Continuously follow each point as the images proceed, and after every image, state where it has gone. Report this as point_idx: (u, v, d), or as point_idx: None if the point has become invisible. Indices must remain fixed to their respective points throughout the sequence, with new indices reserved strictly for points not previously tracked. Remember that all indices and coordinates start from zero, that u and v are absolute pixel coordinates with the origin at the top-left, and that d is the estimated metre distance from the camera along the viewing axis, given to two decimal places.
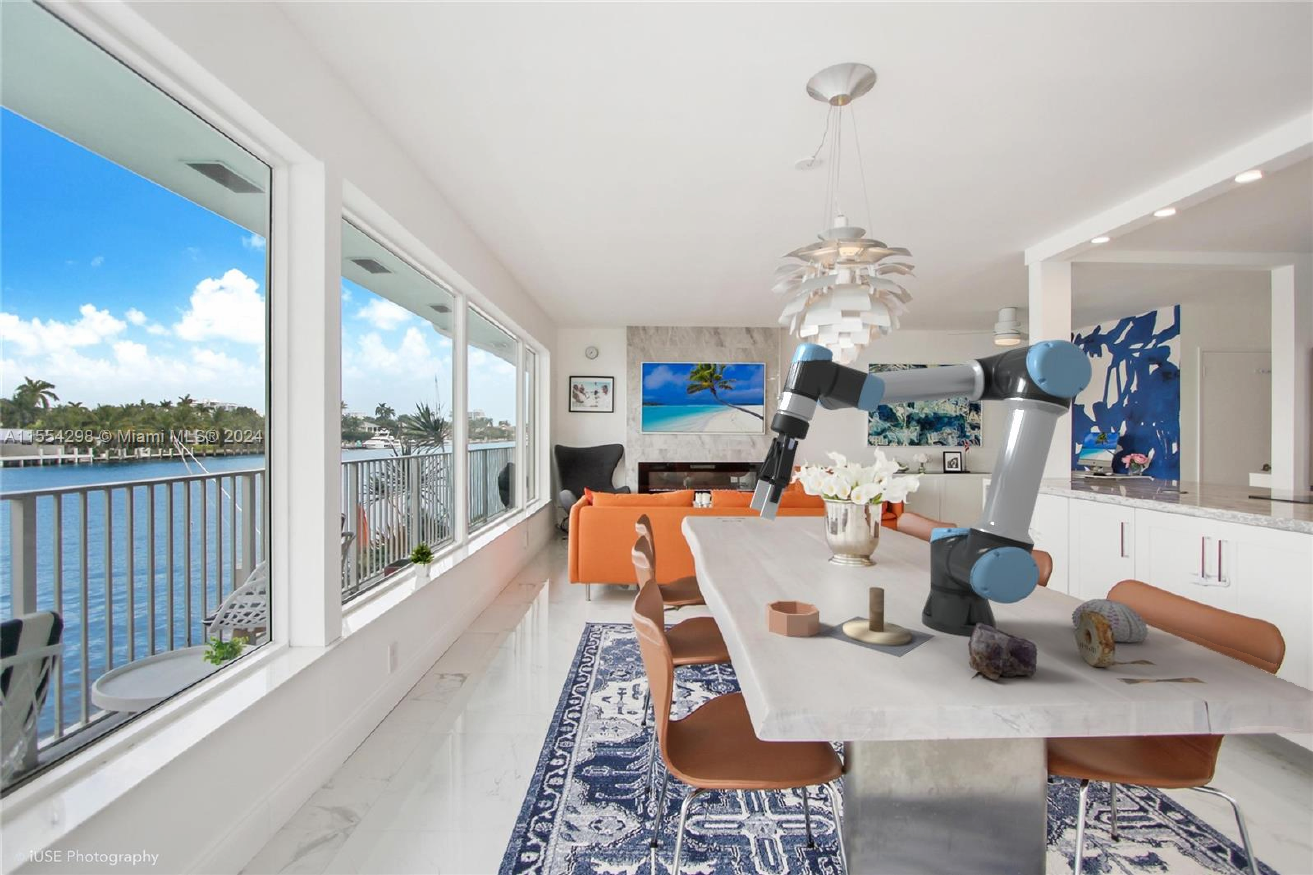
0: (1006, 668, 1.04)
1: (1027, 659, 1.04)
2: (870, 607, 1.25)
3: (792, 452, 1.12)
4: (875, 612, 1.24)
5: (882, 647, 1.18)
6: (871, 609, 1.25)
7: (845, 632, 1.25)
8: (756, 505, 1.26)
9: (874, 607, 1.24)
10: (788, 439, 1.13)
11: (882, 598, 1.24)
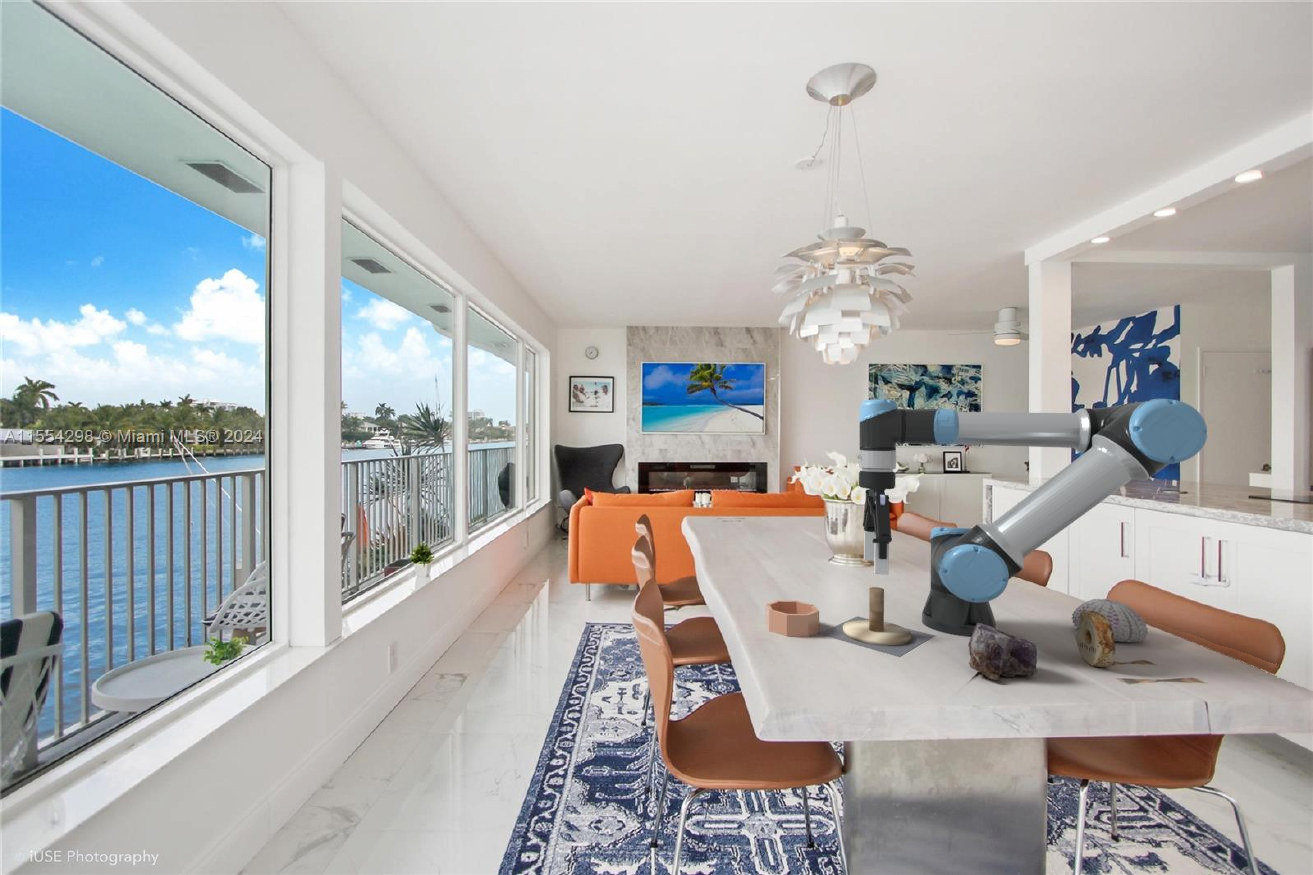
0: (1006, 668, 1.03)
1: (1027, 659, 1.04)
2: (870, 607, 1.25)
3: (886, 507, 1.18)
4: (875, 612, 1.24)
5: (882, 647, 1.18)
6: (871, 609, 1.25)
7: (845, 632, 1.25)
8: (869, 557, 1.32)
9: (874, 607, 1.24)
10: (878, 496, 1.19)
11: (882, 598, 1.24)
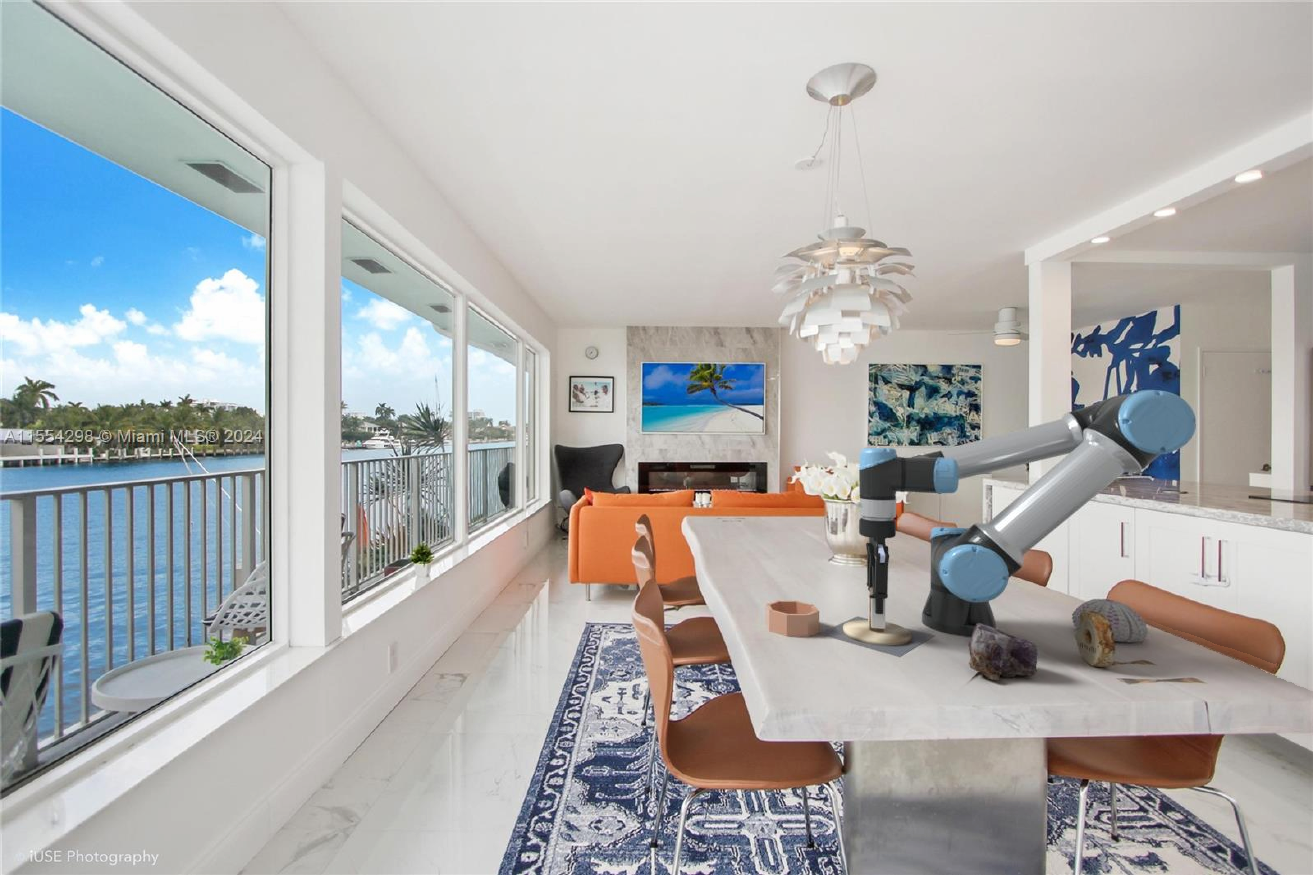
0: (1006, 668, 1.03)
1: (1027, 659, 1.03)
2: (870, 607, 1.25)
3: (885, 566, 1.20)
4: None
5: (882, 647, 1.18)
6: None
7: (845, 632, 1.25)
8: None
9: None
10: (878, 556, 1.19)
11: None
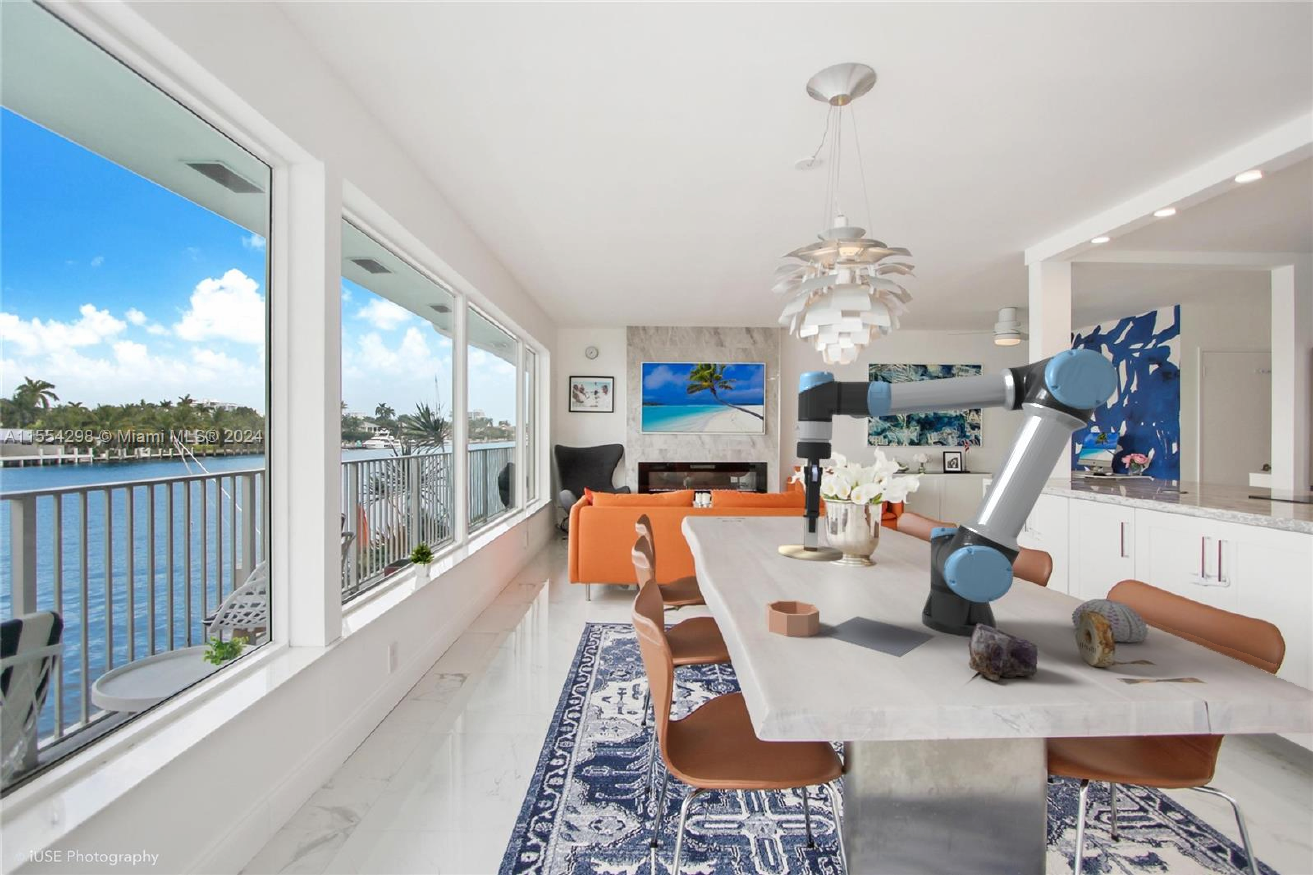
0: (1006, 669, 1.03)
1: (1027, 660, 1.03)
2: None
3: (817, 484, 1.23)
4: None
5: (882, 647, 1.18)
6: None
7: (779, 551, 1.28)
8: None
9: None
10: (811, 474, 1.22)
11: None
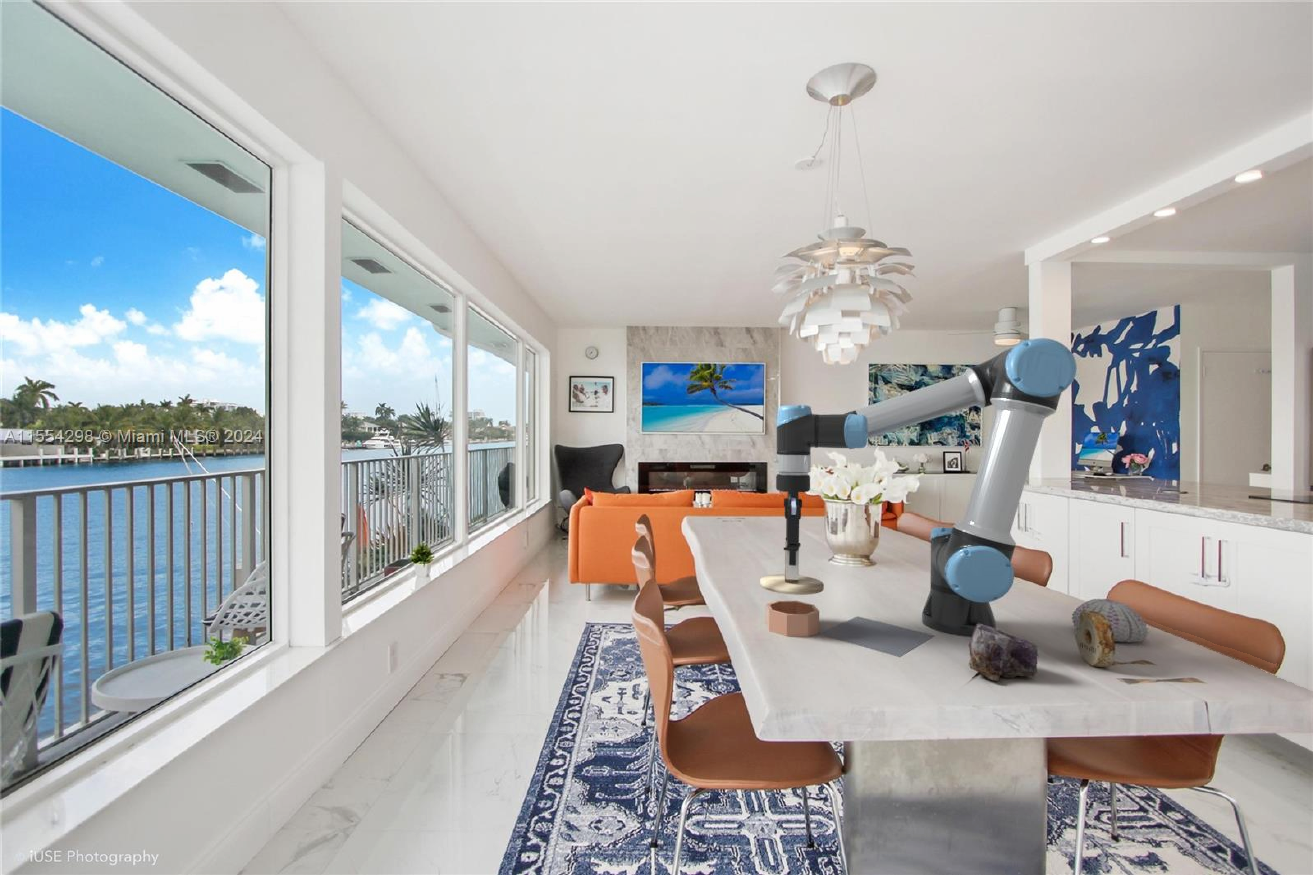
0: (1006, 669, 1.03)
1: (1028, 660, 1.03)
2: (785, 559, 1.29)
3: (796, 518, 1.24)
4: None
5: (882, 647, 1.18)
6: None
7: (761, 583, 1.29)
8: None
9: None
10: (789, 508, 1.23)
11: None
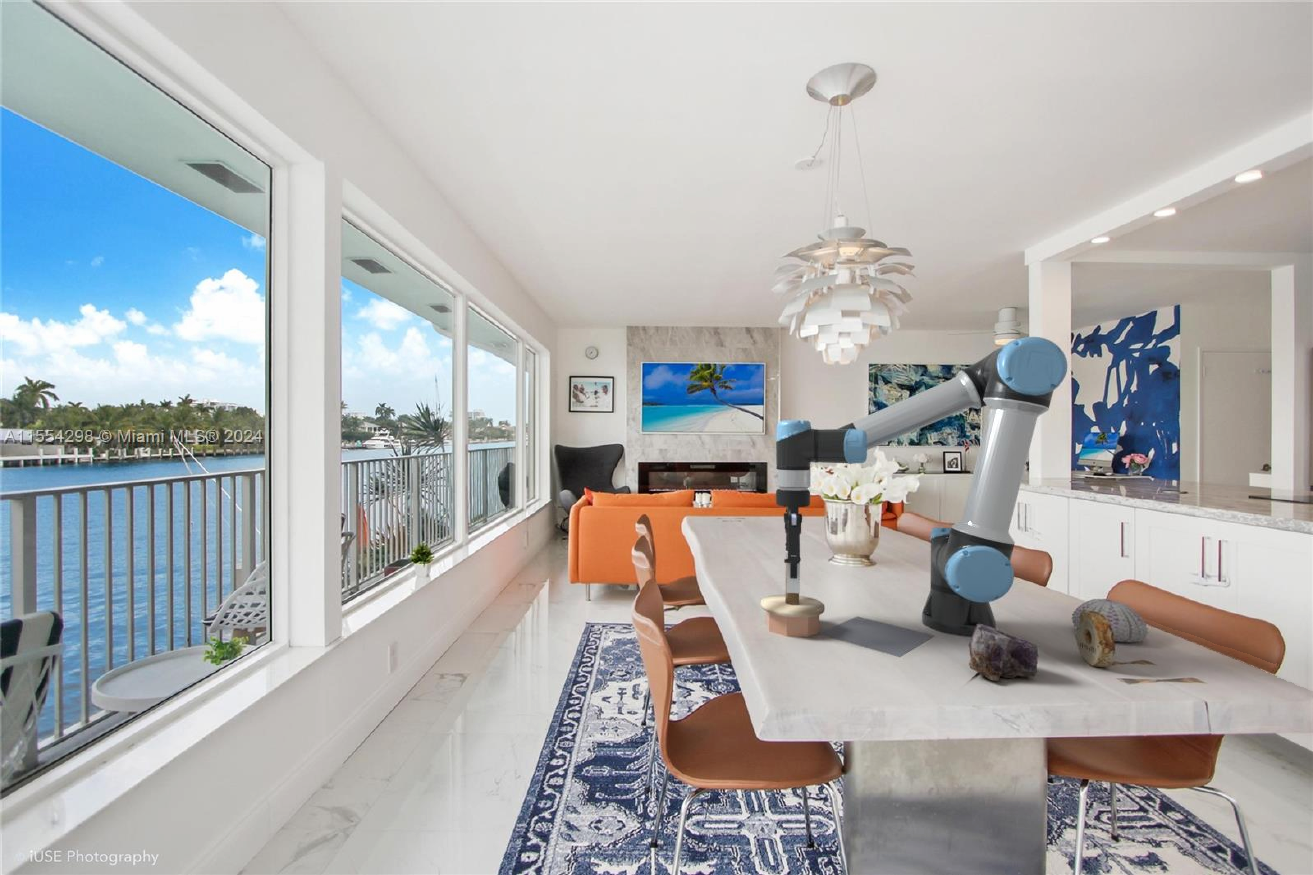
0: (1006, 669, 1.03)
1: (1028, 660, 1.03)
2: (786, 581, 1.29)
3: (796, 528, 1.23)
4: None
5: (882, 647, 1.18)
6: None
7: (762, 605, 1.29)
8: None
9: None
10: (790, 517, 1.23)
11: None
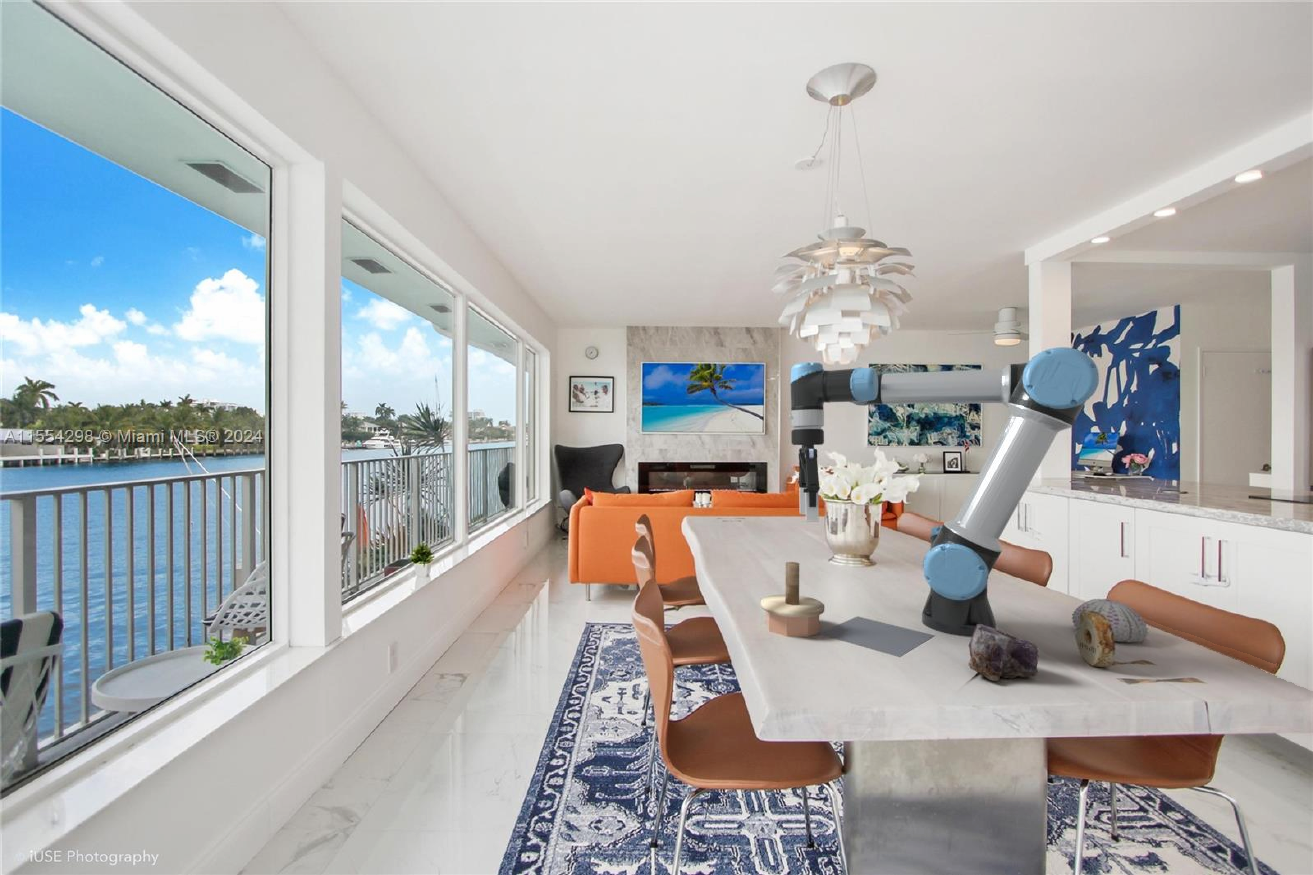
0: (1006, 669, 1.03)
1: (1028, 661, 1.03)
2: (786, 581, 1.29)
3: (814, 460, 1.29)
4: (790, 585, 1.28)
5: (882, 647, 1.18)
6: (787, 583, 1.29)
7: (762, 605, 1.29)
8: (804, 510, 1.43)
9: (789, 581, 1.28)
10: (807, 450, 1.30)
11: (797, 572, 1.28)
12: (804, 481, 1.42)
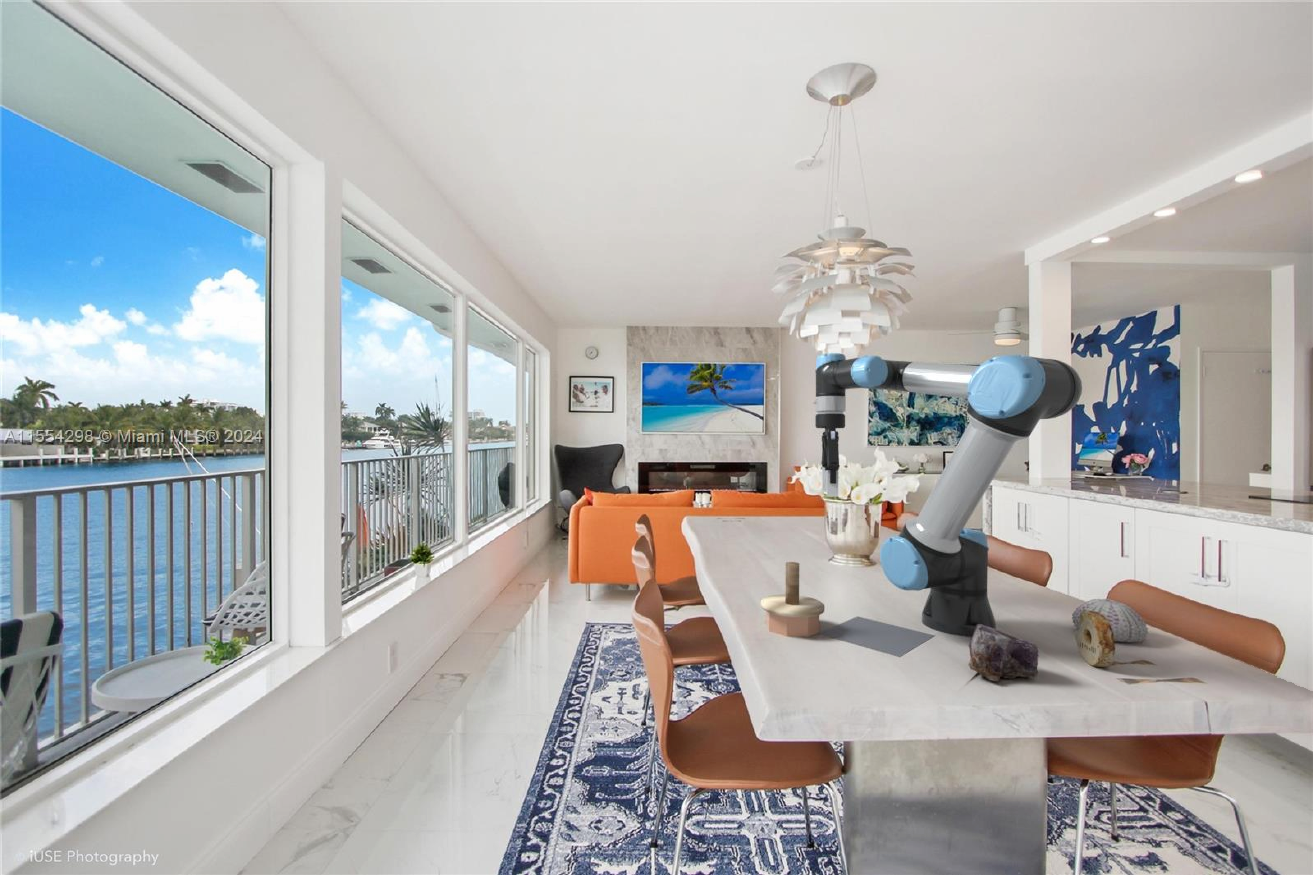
0: (1006, 670, 1.03)
1: (1028, 661, 1.03)
2: (786, 581, 1.29)
3: (835, 441, 1.43)
4: (790, 585, 1.28)
5: (882, 647, 1.18)
6: (787, 583, 1.29)
7: (762, 605, 1.29)
8: (826, 488, 1.57)
9: (789, 581, 1.28)
10: (829, 432, 1.44)
11: (797, 572, 1.28)
12: (827, 461, 1.56)
